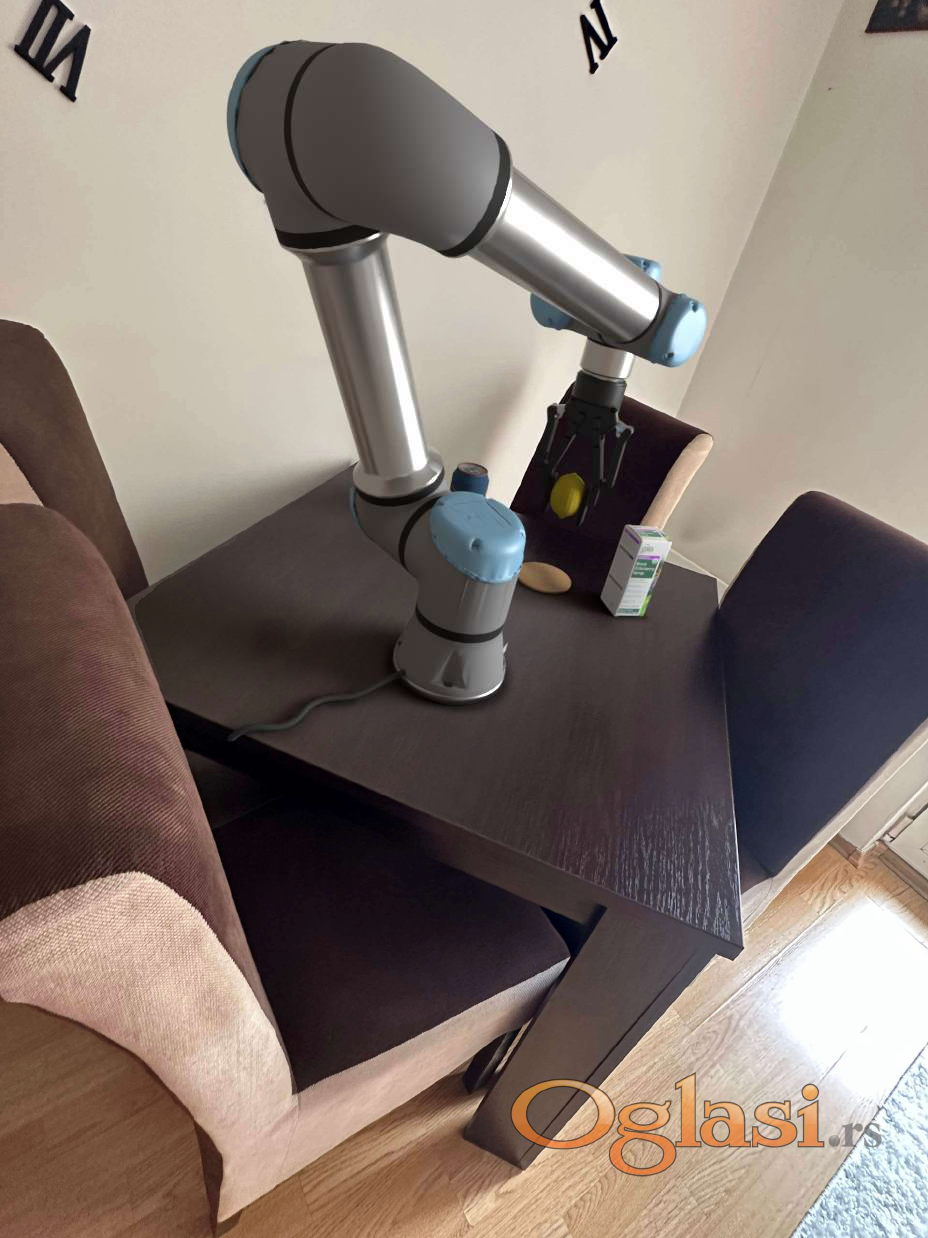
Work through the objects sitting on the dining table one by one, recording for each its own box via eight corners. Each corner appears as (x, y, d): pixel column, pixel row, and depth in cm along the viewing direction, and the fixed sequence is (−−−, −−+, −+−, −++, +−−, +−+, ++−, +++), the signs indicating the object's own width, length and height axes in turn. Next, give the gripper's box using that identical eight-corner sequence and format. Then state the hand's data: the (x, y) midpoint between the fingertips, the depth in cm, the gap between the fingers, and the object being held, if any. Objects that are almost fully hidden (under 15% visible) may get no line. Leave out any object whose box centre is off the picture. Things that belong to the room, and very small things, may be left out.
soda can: (439, 517, 127) (449, 459, 120) (472, 519, 129) (484, 462, 123) (448, 534, 122) (460, 474, 115) (483, 535, 124) (496, 477, 118)
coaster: (545, 599, 109) (545, 597, 109) (503, 570, 114) (504, 568, 114) (581, 585, 115) (582, 583, 115) (541, 559, 121) (541, 557, 120)
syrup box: (613, 617, 108) (643, 540, 100) (598, 597, 113) (625, 522, 105) (643, 617, 110) (674, 541, 102) (627, 597, 115) (655, 524, 107)
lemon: (576, 514, 111) (590, 470, 106) (577, 528, 106) (592, 483, 102) (544, 507, 111) (557, 463, 106) (544, 521, 106) (557, 475, 102)
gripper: (668, 387, 96) (619, 527, 109) (551, 354, 101) (517, 492, 113) (661, 396, 90) (610, 543, 103) (537, 360, 95) (502, 506, 107)
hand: (561, 516), depth 108 cm, fingers closed on lemon, 6 cm apart
